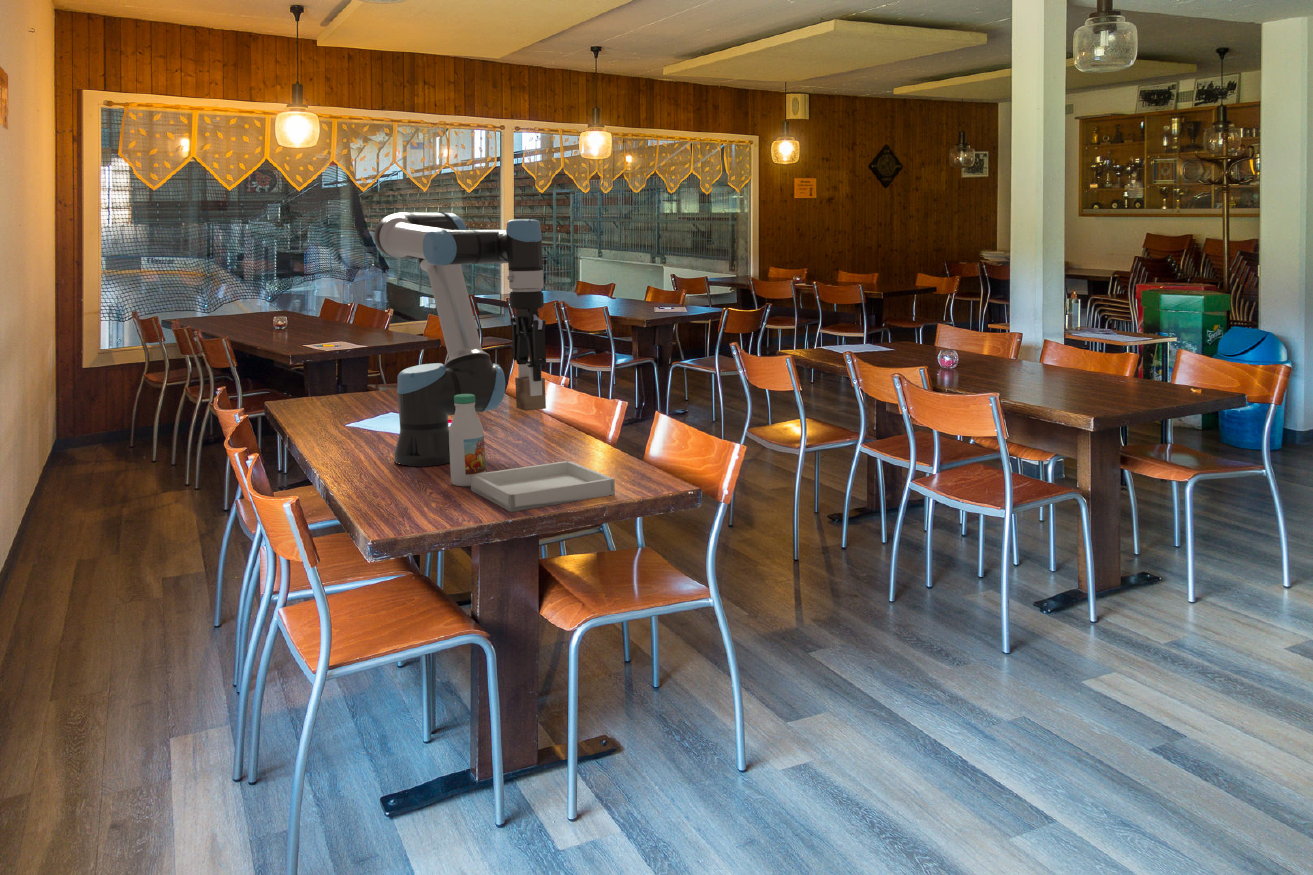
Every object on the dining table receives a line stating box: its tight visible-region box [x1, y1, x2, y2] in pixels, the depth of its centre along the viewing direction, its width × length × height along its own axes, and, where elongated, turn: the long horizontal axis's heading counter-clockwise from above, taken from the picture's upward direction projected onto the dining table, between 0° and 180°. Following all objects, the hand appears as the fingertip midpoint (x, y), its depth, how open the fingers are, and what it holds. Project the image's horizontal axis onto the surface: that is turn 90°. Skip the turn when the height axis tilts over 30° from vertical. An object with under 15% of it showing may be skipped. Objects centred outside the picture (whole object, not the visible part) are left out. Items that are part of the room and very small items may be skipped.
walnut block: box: [514, 376, 547, 412], centre depth 227 cm, size 5×5×7 cm
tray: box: [470, 460, 616, 513], centre depth 216 cm, size 21×24×4 cm
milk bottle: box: [449, 394, 486, 487], centre depth 223 cm, size 8×8×20 cm
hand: (530, 393), depth 227 cm, fingers closed on walnut block, 5 cm apart
